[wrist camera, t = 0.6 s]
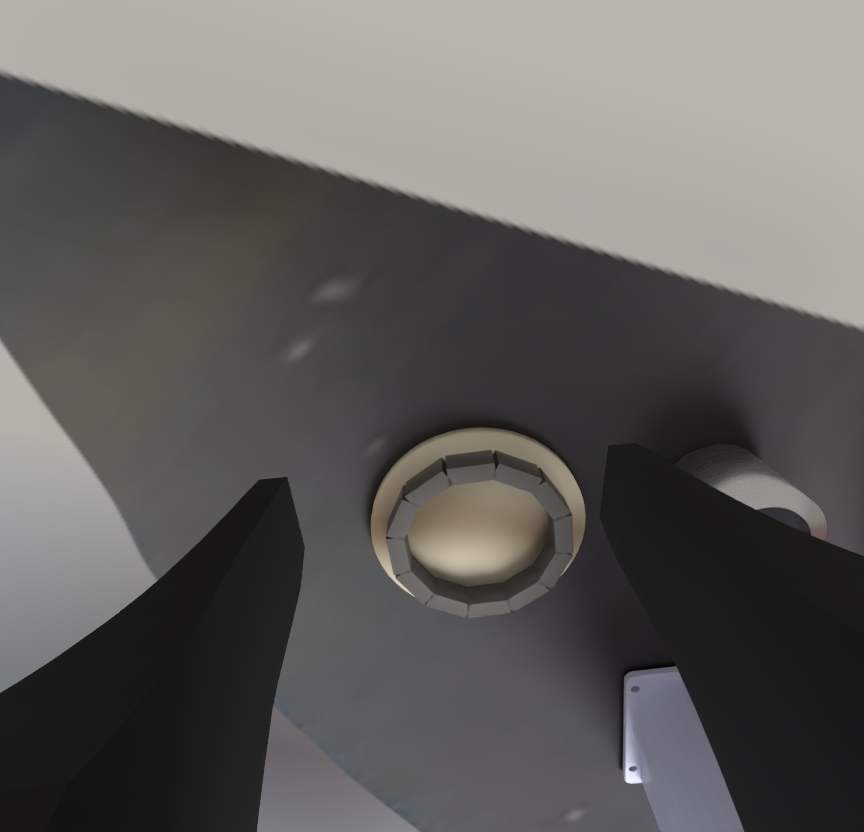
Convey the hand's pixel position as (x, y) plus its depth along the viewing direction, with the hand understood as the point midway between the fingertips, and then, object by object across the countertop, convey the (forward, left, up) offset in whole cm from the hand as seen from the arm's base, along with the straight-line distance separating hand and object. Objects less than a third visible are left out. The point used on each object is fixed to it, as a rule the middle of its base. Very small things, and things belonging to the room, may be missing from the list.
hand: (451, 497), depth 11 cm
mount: (-8, -1, -10) cm, 13 cm away
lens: (-8, -12, -10) cm, 18 cm away
